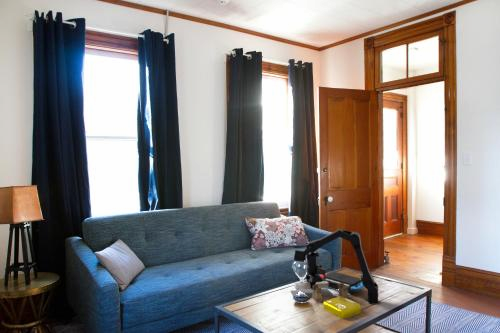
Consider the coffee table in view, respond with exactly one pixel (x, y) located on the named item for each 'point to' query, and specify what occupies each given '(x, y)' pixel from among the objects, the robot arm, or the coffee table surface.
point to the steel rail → (307, 286)
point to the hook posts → (318, 292)
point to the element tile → (342, 307)
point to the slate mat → (310, 292)
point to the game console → (343, 281)
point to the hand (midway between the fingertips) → (311, 288)
